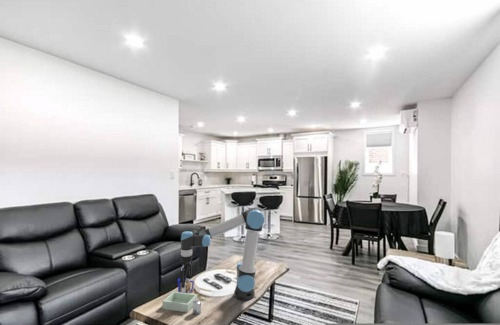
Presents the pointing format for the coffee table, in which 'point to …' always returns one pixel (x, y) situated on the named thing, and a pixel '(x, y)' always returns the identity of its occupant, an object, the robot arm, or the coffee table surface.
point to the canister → (196, 307)
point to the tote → (179, 301)
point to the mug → (180, 283)
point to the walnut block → (186, 286)
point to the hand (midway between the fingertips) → (185, 290)
